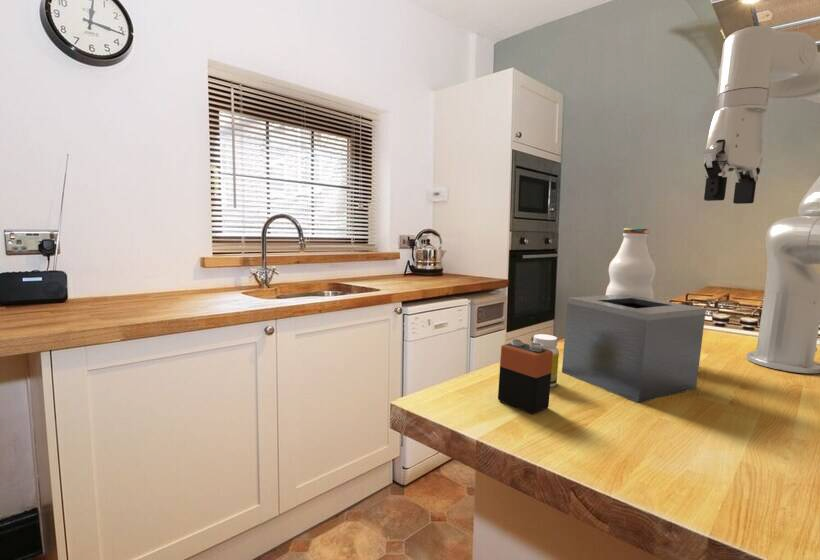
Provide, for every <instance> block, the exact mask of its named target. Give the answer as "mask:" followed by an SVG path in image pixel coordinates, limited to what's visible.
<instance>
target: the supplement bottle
mask: <svg viewBox="0 0 820 560" xmlns="http://www.w3.org/2000/svg"><path fill="white" fill-rule="evenodd" d="M532 342H534V343H541V344H542V345H544V349H548V350H551V351H552V352H553V357H552V370H551V382H550V388H552V387H555V386H556V385H557V383H558V382H557V381H558V369H559V367H558V366H559V355H560V353H559V349H558V348H557V346H558V337H556V336H554V335H552V334H551V335H550V334H547V333H546V334H542V333H541V334H540V333H539V334H534V335H533V341H532Z"/></svg>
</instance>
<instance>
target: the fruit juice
mask: <svg viewBox="0 0 820 560" xmlns="http://www.w3.org/2000/svg"><path fill="white" fill-rule="evenodd" d="M622 236H623V239H622V242H621V244H620V247H619V249H618V251H617V253H616V255H615V256H614V257H613V258H612V260H611V261H610V262H609V266H608V276H609V283H608V284H607V287H606V290H605V295H618V294H626V295H632V296H637V297H643V298H649V299H655V297H654V289H653V286H652V285H653V284H652V283H653V281H654V278H655V276H656V269H657V268H656V264H655V262H654V261H653V259H652V258H651V255H650V252H649V248H648V243H647V238H648V237H649V229H648V228H636V227H635V228H630V227H625V228H623V229H622Z"/></svg>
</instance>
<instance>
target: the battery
mask: <svg viewBox="0 0 820 560" xmlns="http://www.w3.org/2000/svg"><path fill="white" fill-rule="evenodd" d="M552 357H553V352H552V351H551V350H548V349H544V345H542V344H541V343H534V342H533V341H532V342H529V343H526V342H525V343H524V342H523V340H522V339H519V338H513V339H512V342H510V343H504V344H502V345H501V347H500V359H499V360H500V361H499V373H498V374H499V375H498V391H497V392H498V393H497V399H498V401H500V402H502V403H504V404H506V405H509V406H510V407H514V408H516V409H518V410H521V411H524V412H527V413H529V414H531V415H534V414H536V413H539V412H541V411H543V410H546V409H548V408H549V406H550V405H549V403H550V392H551V387H550V382H551V370H552Z"/></svg>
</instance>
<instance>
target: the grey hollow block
mask: <svg viewBox="0 0 820 560" xmlns="http://www.w3.org/2000/svg"><path fill="white" fill-rule="evenodd" d="M566 304H567V305H566V306H567V307H566V316H565V328H564V329H565V330H564V331H565V332H564V341H563V342H564V344H563V351H562V353H563V355H562V363H561V365H562V367H561V373H564V374H566V375H568V376H571V377H573V378H576V379H578V380H581V381H583V382H585V383H588V384H590V385H593V386H596V387H598V388H601V389H603V390H606V391H607V392H610V393H612V394H615V395H618V396H620V397H623V398H625V399H628V400H630V401H633V402H636V403H643V402H648V401H651V400H655V399H659V398H664V397H669V396H672V395H676V394H680V393H685V392H688V391H693V390H697V384H698V375H699V370H700V369H699V367H700V362H701V361H700V359H701V354H702V353H701V352H702V344H703V335H704V328H705V320H706V319H705V318H706V312H707V311H706V310H707V308H705V307H700V306H694V305H689V304H682V303H677V302H671V301H665V300H659V299H655V298H653V299H649V298H643V297H637V296H632V295H626V294H618V295H606V294H604V295H591V296H577V297H576V296H574V297H568V298H567V303H566Z"/></svg>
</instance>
